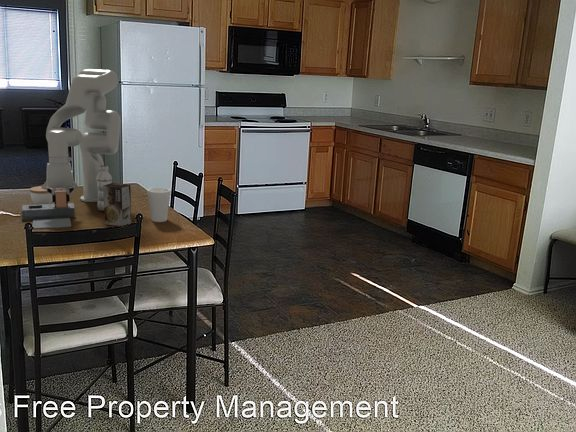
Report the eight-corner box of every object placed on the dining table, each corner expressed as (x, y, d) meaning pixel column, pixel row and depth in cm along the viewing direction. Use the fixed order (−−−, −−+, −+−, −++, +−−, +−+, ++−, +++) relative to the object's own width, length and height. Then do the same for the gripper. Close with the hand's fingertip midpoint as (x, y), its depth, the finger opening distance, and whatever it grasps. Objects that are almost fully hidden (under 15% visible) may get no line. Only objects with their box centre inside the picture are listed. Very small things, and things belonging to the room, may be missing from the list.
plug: (66, 213, 243) (65, 190, 241) (67, 215, 240) (65, 192, 238) (56, 214, 242) (55, 191, 240) (56, 216, 238) (55, 192, 236)
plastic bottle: (116, 210, 253) (115, 165, 248) (105, 213, 247) (104, 167, 242) (105, 208, 256) (103, 164, 251) (94, 211, 250) (92, 166, 245)
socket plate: (73, 211, 247) (73, 202, 246) (74, 217, 239) (74, 208, 238) (23, 214, 240) (22, 205, 239) (22, 219, 232) (21, 210, 231)
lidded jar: (31, 208, 249) (29, 187, 246) (30, 203, 258) (29, 182, 256) (57, 207, 253) (56, 186, 251) (56, 201, 263) (55, 182, 260)
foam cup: (151, 216, 246) (150, 187, 243) (172, 217, 246) (172, 188, 243) (145, 222, 237) (144, 191, 234) (167, 223, 237) (167, 193, 233)
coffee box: (132, 223, 235) (131, 184, 231) (122, 227, 229) (121, 187, 225) (113, 220, 238) (112, 182, 234) (103, 224, 232) (102, 185, 228)
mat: (70, 219, 236) (69, 218, 236) (71, 226, 226) (71, 225, 225) (33, 220, 231) (33, 220, 231) (32, 229, 220) (32, 228, 220)
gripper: (79, 158, 242) (81, 200, 247) (36, 159, 236) (39, 202, 240) (80, 161, 235) (82, 204, 240) (36, 162, 229) (39, 206, 234)
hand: (61, 203), depth 240 cm, fingers closed on plug, 4 cm apart
